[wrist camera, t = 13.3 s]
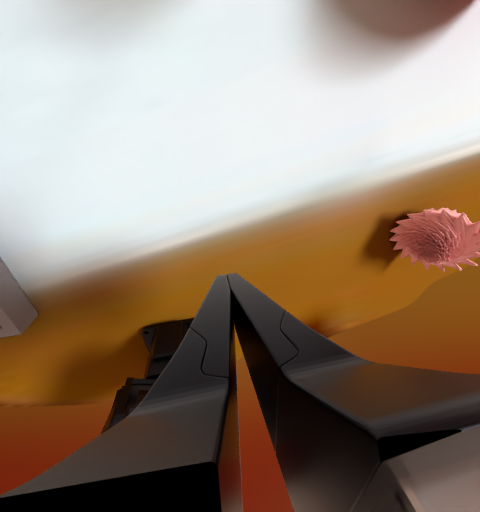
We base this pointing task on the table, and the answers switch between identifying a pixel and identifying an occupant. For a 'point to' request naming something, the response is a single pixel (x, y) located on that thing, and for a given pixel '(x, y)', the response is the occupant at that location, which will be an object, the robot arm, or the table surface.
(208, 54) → the table surface
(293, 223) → the table surface
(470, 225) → the flower
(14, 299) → the button box
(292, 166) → the table surface
